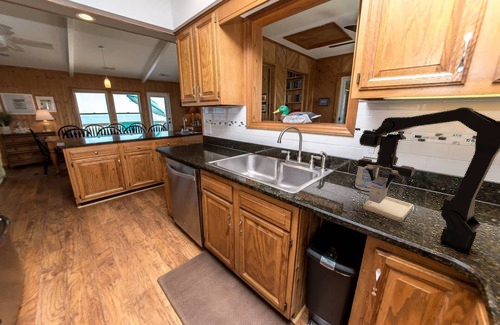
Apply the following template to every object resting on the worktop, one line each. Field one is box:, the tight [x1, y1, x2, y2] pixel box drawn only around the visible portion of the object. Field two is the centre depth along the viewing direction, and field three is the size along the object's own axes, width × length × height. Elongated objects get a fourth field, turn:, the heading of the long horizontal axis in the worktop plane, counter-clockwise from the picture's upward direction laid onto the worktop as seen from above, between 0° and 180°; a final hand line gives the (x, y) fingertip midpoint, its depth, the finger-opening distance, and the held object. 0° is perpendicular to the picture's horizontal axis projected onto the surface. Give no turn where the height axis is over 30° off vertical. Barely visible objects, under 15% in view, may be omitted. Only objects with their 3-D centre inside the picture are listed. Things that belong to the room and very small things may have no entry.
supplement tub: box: [354, 166, 380, 192], centre depth 106 cm, size 10×10×15 cm
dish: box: [362, 195, 414, 223], centre depth 85 cm, size 14×18×2 cm
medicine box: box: [367, 176, 390, 204], centre depth 81 cm, size 8×4×9 cm, turn 130°
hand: (379, 186), depth 80 cm, fingers closed on medicine box, 4 cm apart
